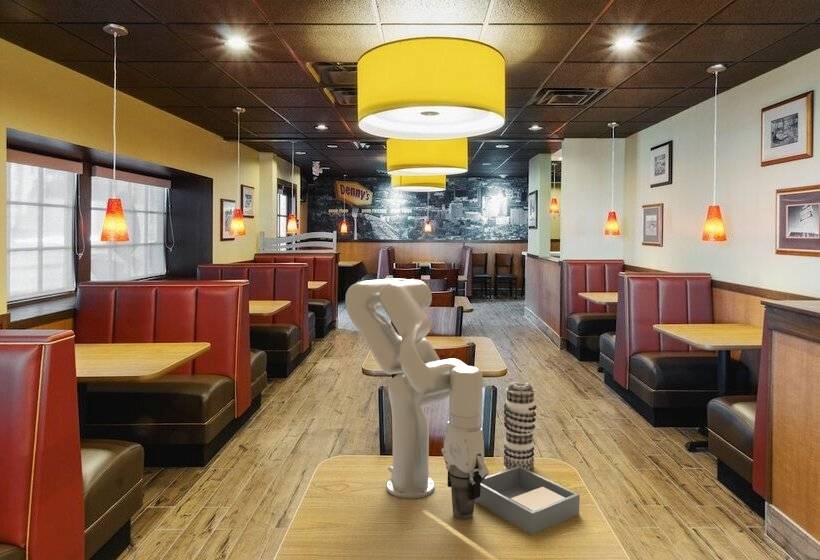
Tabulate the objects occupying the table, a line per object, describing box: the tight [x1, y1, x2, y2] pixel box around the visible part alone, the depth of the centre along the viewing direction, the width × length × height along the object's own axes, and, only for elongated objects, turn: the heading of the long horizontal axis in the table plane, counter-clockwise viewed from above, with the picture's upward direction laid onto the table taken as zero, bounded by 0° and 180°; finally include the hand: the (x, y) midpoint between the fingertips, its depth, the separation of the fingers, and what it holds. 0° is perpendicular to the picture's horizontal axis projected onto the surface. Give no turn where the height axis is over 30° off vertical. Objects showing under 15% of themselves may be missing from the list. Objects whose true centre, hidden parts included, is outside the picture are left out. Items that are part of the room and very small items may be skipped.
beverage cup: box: [448, 464, 477, 521], centre depth 142 cm, size 7×7×20 cm
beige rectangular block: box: [511, 487, 565, 511], centre depth 144 cm, size 8×11×4 cm
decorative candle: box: [503, 381, 538, 471], centre depth 170 cm, size 9×9×25 cm
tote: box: [475, 466, 581, 536], centre depth 147 cm, size 20×16×6 cm
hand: (463, 491), depth 143 cm, fingers closed on beverage cup, 7 cm apart
